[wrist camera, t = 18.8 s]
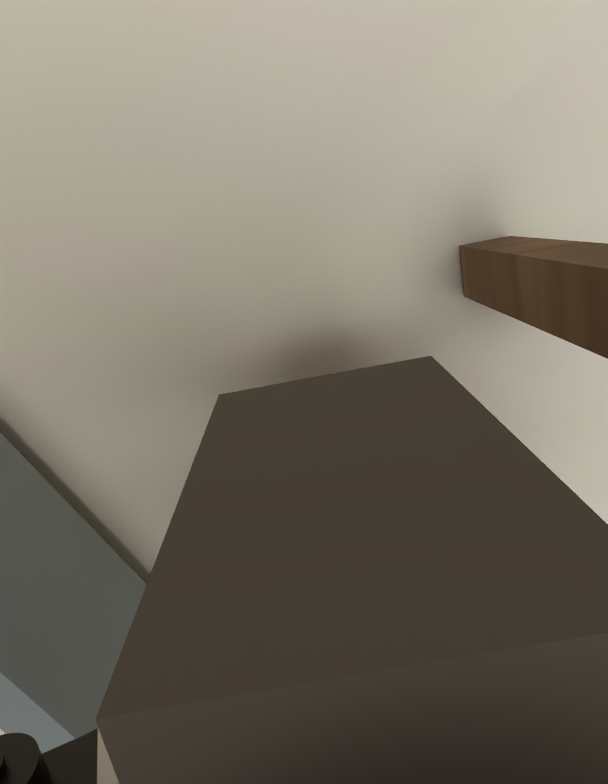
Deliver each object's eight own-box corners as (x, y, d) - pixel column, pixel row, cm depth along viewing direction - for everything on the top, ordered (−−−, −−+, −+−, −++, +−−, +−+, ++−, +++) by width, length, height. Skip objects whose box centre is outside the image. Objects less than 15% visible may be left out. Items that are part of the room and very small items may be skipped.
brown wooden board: (-131, 408, 18) (-495, 575, 10) (-152, 361, 18) (-553, 494, 9) (514, 287, 18) (725, 350, 9) (510, 236, 17) (729, 253, 9)
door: (-105, 374, 18) (-317, 459, 11) (-43, 324, 17) (-227, 383, 11) (239, 720, 22) (221, 916, 16) (294, 686, 22) (298, 874, 16)
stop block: (282, 660, 14) (277, 1203, 6) (218, 394, 12) (96, 718, 4) (463, 629, 14) (684, 1142, 6) (430, 355, 12) (703, 616, 4)
